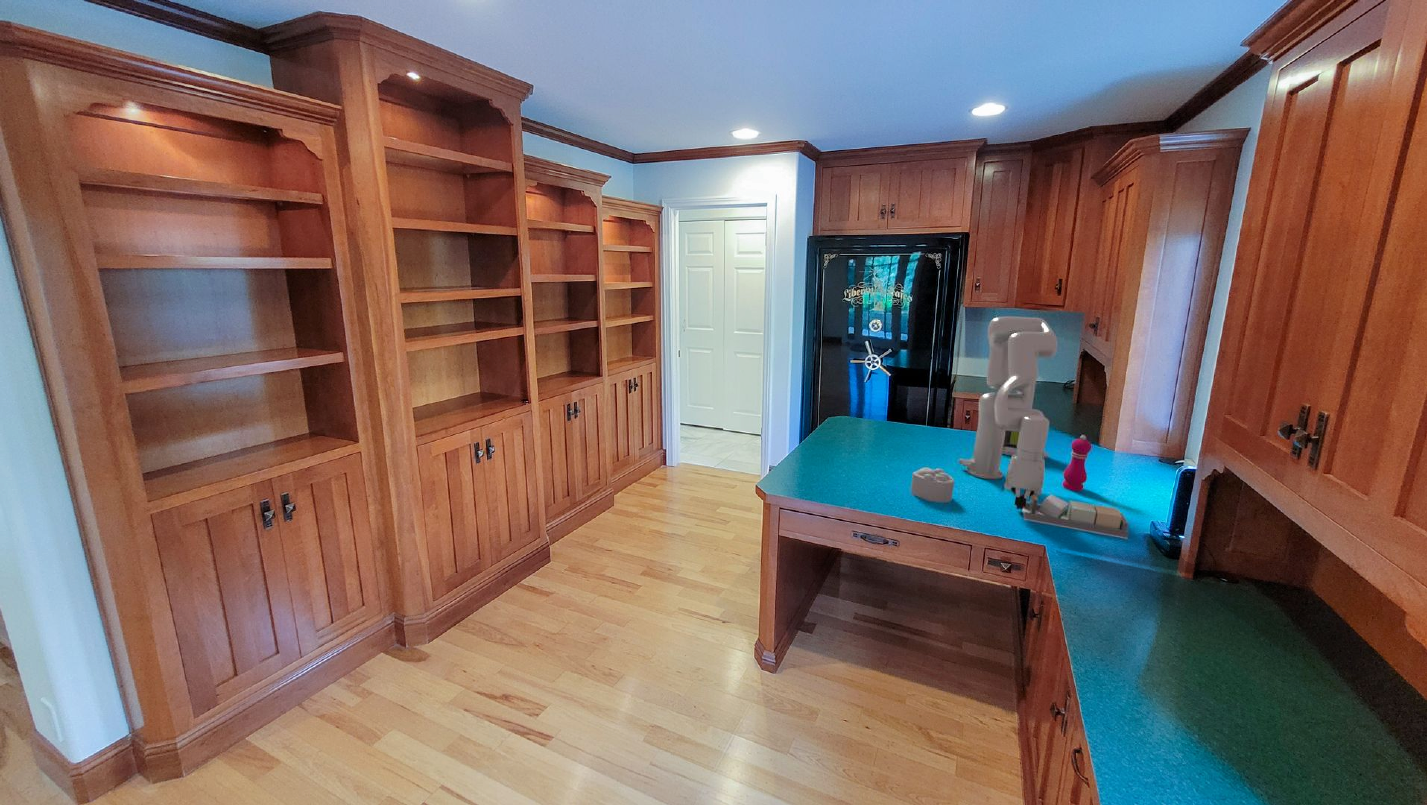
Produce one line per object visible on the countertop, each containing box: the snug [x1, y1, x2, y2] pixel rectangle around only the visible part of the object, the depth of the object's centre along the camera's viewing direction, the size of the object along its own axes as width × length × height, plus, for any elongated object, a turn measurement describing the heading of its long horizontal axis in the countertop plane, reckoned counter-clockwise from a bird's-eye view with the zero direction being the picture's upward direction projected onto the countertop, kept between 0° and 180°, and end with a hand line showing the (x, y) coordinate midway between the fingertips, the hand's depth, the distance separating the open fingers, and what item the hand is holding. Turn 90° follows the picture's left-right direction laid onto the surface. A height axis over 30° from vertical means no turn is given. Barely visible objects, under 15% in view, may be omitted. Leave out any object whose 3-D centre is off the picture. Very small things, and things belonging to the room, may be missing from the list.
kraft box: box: [1093, 504, 1122, 529], centre depth 170 cm, size 6×6×6 cm
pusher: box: [1029, 494, 1039, 514], centre depth 177 cm, size 1×7×6 cm, turn 156°
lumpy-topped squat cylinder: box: [910, 467, 955, 503], centre depth 191 cm, size 10×13×9 cm
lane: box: [1022, 501, 1130, 540], centre depth 173 cm, size 27×11×5 cm, turn 66°
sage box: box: [1067, 500, 1096, 524], centre depth 172 cm, size 6×6×6 cm
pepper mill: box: [1062, 434, 1092, 492], centre depth 199 cm, size 7×7×20 cm
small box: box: [1038, 494, 1070, 518], centre depth 175 cm, size 6×6×5 cm
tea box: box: [1002, 431, 1019, 456], centre depth 233 cm, size 15×10×15 cm
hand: (1019, 507), depth 179 cm, fingers closed
